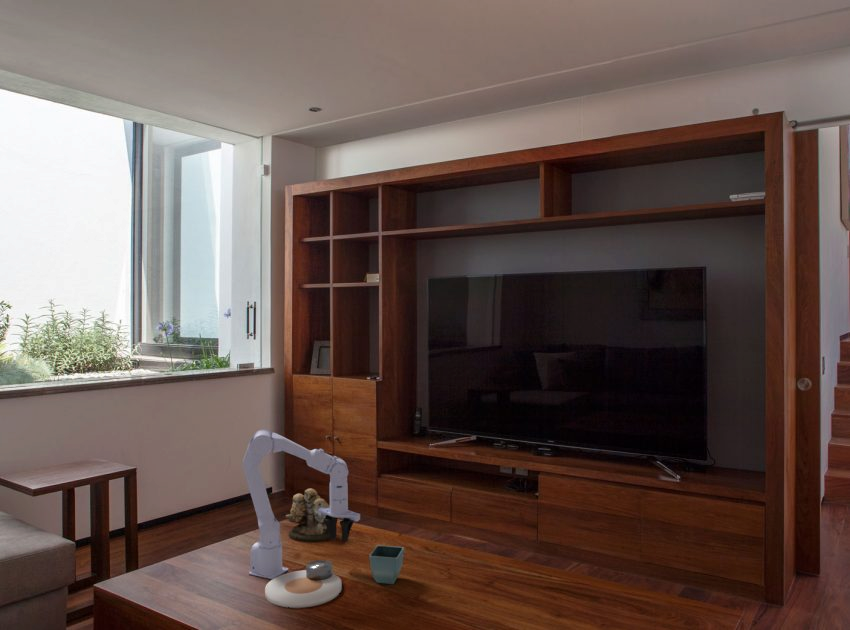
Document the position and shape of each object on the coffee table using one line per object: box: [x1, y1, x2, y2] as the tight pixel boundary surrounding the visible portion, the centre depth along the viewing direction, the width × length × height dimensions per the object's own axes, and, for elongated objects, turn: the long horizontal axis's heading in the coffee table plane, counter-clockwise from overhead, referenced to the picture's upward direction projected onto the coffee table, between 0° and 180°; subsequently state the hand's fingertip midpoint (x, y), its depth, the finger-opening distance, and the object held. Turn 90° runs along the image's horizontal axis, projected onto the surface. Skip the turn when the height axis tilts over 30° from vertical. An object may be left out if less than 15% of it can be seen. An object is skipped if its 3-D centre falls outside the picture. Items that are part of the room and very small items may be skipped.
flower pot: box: [369, 544, 405, 585], centre depth 200 cm, size 9×9×9 cm
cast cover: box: [305, 559, 334, 581], centre depth 201 cm, size 8×8×3 cm
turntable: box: [264, 569, 343, 609], centre depth 194 cm, size 22×22×2 cm
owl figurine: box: [285, 488, 331, 543], centre depth 239 cm, size 18×12×17 cm, turn 78°
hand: (339, 540), depth 211 cm, fingers open, 4 cm apart
